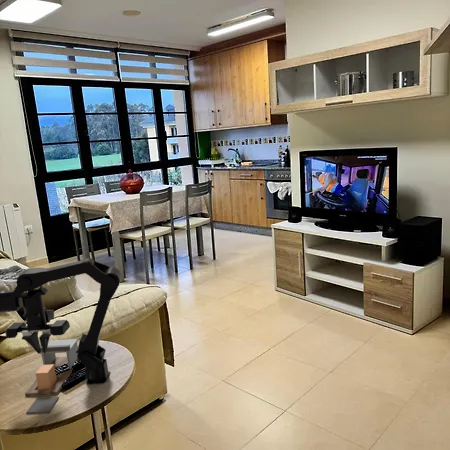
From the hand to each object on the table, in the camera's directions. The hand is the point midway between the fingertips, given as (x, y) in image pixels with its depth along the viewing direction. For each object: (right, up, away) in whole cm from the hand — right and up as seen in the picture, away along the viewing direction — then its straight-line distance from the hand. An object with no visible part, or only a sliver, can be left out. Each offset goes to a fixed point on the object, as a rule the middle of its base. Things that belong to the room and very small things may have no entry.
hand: (42, 352), depth 138 cm
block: (+1, -12, +2) cm, 12 cm away
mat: (+4, -14, -8) cm, 16 cm away
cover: (+1, -8, +14) cm, 16 cm away
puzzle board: (+1, -10, +8) cm, 13 cm away
